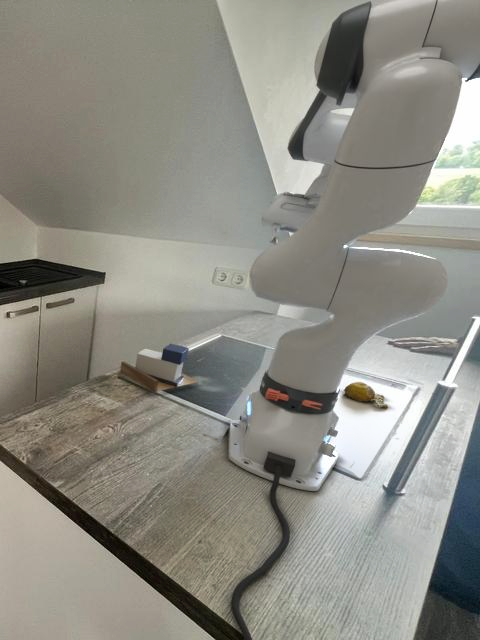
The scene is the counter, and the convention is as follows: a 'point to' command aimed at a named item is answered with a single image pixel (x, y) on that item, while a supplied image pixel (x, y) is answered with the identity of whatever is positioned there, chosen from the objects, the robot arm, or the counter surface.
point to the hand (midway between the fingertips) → (292, 249)
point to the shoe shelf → (150, 378)
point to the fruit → (363, 393)
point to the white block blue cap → (163, 363)
